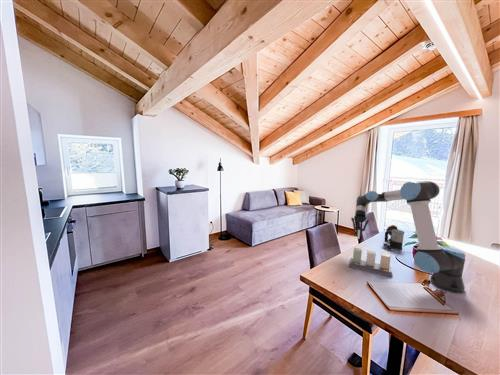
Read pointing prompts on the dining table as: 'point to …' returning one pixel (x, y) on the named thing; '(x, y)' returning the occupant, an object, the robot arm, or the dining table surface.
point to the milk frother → (394, 239)
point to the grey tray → (371, 268)
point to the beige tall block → (385, 261)
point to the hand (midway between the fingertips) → (358, 238)
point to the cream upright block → (370, 258)
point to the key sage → (357, 255)
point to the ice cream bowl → (391, 229)
